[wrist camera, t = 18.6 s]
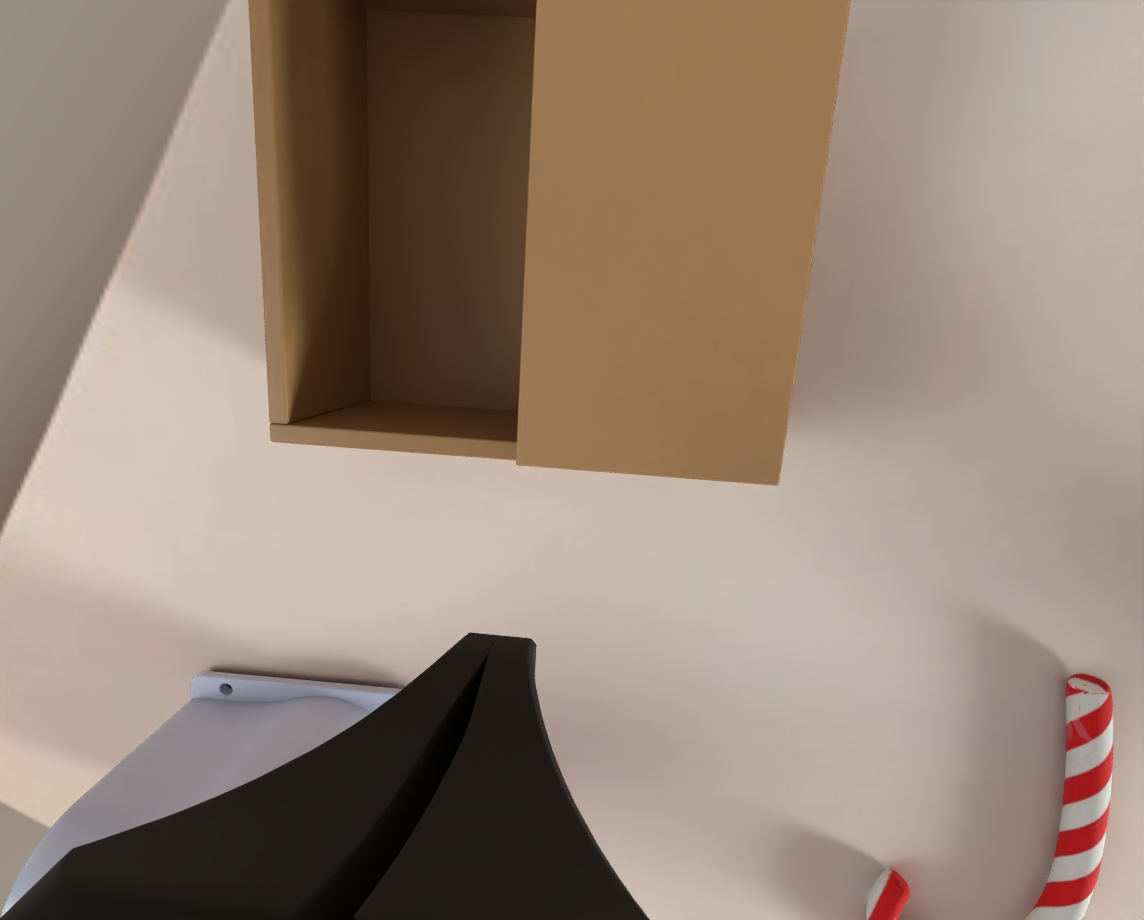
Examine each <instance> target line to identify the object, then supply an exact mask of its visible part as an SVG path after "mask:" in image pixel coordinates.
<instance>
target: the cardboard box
mask: <svg viewBox="0 0 1144 920" xmlns="http://www.w3.org/2000/svg"><path fill="white" fill-rule="evenodd" d="M536 3H537V0H249V20H250V40H251V60H252V80H253V100H254V119H255V139H256V159H257V179H258V199H259V219H260V239H261V259H262V279H263V299H264V318H265V338H266V358H267V378H268V398H269V418H270V422H271V424H270V438H271V441H272V442H280V443H293V444H307V445H320V446H333V447H347V448H360V449H373V450H386V451H400V452H413V453H426V454H440V455H453V456H466V457H479V458H493V459H506V460H516V451H517V429H518V406H519V384H520V362H521V339H522V317H523V294H524V272H525V250H526V227H527V205H528V183H529V160H530V138H531V115H532V93H533V71H534V48H535V26H536Z"/></svg>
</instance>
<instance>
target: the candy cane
mask: <svg viewBox="0 0 1144 920" xmlns="http://www.w3.org/2000/svg"><path fill="white" fill-rule="evenodd" d="M1112 765H1113V703H1112V695H1111V689H1110V687H1109V685H1108V684H1107V683H1106V682H1105V681H1104V680H1102V679H1101V678H1099V677H1097V676H1094V675H1090V674H1075V675H1073V676H1071V677H1070V678H1069V679H1068V681H1067V688H1066V768H1065V783H1064V794H1063V804H1062V812H1061V821H1060V828H1059V834H1058V841H1057V846H1056V851H1055V856H1054V860H1053V864H1052V868H1051V871H1050V875H1049V878H1048V880H1047V883H1046V885H1045V888H1044V890H1043V892H1042V894H1041V896H1040V898H1039V900H1038V901H1037V903H1036V905H1035V906H1034V908H1033V909H1032V911H1031V912H1030V914H1029V915H1028V916H1027V917H1026V918H1025V919H1024V920H1082V918H1083V916H1084V914H1085V912H1086V910H1087V907H1088V905H1089V903H1090V900H1091V897H1092V894H1093V891H1094V888H1095V885H1096V881H1097V878H1098V873H1099V869H1100V864H1101V859H1102V854H1103V848H1104V842H1105V836H1106V829H1107V821H1108V813H1109V804H1110V794H1111V782H1112ZM909 896H910V888H909V886H908V884H907V883H906V881H905V880H904V879H903V878H902V876H900V875H899V874H898V873H897V872H896V871H894V870H893V869H889V868H888V869H885V870H884V871H883V872H882V873H881V874H880V876H879V877H878V879H877V880H876V882H875V884H874V886H873V888H872V891H871V894H870V896H869V900H868V903H867V909H866V920H898V918H899V915H900V913H901V911H902V909H903V907H904V905H905V904H906V902H907V900H908V899H909Z"/></svg>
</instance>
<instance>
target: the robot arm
mask: <svg viewBox="0 0 1144 920" xmlns="http://www.w3.org/2000/svg"><path fill="white" fill-rule="evenodd" d="M535 661H536V644H535V643H534V641H533V640H532V639H530V638H520V637H510V636H499V635H489V634H479V633H468V634H467V635H466V636H465V637H463V638H462V639H461V640H460V641H459V642H457V643H456V644H455V645H454V646H453V647H452V648H451V649H450V650H448V651H447V652H446V653H445V654H444V655H443V656H442V657H440V658H439V659H438V660H437V661H436V662H435V663H434V664H432V665H431V666H430V667H429V668H428V669H427V670H425V671H424V672H423V673H422V674H420V675H419V676H418V677H417V678H416V679H414V680H413V681H412V682H411V683H410V684H408V685H407V686H406V687H405V688H403V689H398V688H387V687H376V686H365V685H354V684H344V683H333V682H322V681H311V680H300V679H289V678H278V677H267V676H256V675H245V674H234V673H223V672H212V671H202V672H200V673H198V674H197V675H196V676H195V677H194V678H193V679H192V680H191V697H192V699H191V700H190V701H189V702H188V703H187V704H185V705H184V706H183V707H182V708H181V709H180V710H179V711H178V712H176V713H175V714H174V715H173V716H172V717H171V718H170V719H169V720H167V721H166V722H165V723H164V724H163V725H162V726H161V727H160V728H158V729H157V730H156V731H155V732H154V733H153V734H152V735H150V736H149V737H148V738H147V739H146V740H145V741H144V742H143V743H141V744H140V745H139V746H138V747H137V748H136V749H135V750H134V751H132V752H131V753H130V754H129V755H128V756H127V757H126V758H125V759H123V760H122V761H121V762H120V763H119V764H118V765H117V766H116V767H114V768H113V769H112V770H111V771H110V772H109V773H108V774H107V775H105V776H104V777H103V778H102V779H101V780H100V781H99V782H97V783H96V784H95V785H94V786H93V787H92V788H91V789H90V790H88V791H87V792H86V793H85V794H84V795H83V796H82V797H81V798H79V799H78V800H77V801H76V802H75V803H74V804H73V805H72V806H71V807H70V808H69V809H68V810H67V811H66V812H65V813H64V814H63V815H62V816H61V817H60V818H59V819H58V820H57V821H56V823H55V824H54V825H53V826H52V827H51V829H50V830H49V831H48V832H47V833H46V835H45V836H44V838H43V839H42V840H41V842H40V843H39V844H38V846H37V847H36V849H35V850H34V852H33V853H32V855H31V856H30V858H29V859H28V861H27V862H26V864H25V866H24V867H23V869H22V871H21V872H20V874H19V876H18V878H17V879H16V882H15V883H14V885H13V887H12V889H11V891H10V894H9V896H8V898H7V901H6V903H5V906H4V908H3V911H2V915H1V918H0V920H650V919H649V918H648V917H647V916H646V914H645V913H644V912H643V910H642V909H641V908H640V906H639V905H638V904H637V902H636V901H635V900H634V898H633V897H632V896H631V894H630V893H629V891H628V890H627V889H626V887H625V886H624V884H623V883H622V881H621V880H620V879H619V877H618V876H617V874H616V873H615V871H614V870H613V868H612V866H611V865H610V863H609V862H608V860H607V859H606V857H605V856H604V854H603V852H602V851H601V849H600V848H599V846H598V844H597V843H596V841H595V839H594V837H593V835H592V833H591V832H590V830H589V828H588V826H587V824H586V823H585V821H584V819H583V817H582V815H581V813H580V812H579V810H578V808H577V806H576V804H575V802H574V800H573V798H572V796H571V794H570V791H569V789H568V787H567V785H566V783H565V781H564V778H563V776H562V773H561V771H560V768H559V766H558V764H557V761H556V758H555V756H554V753H553V750H552V747H551V744H550V741H549V738H548V735H547V731H546V728H545V725H544V721H543V717H542V714H541V710H540V705H539V700H538V695H537V690H536V684H535ZM226 684H229V685H230V686H231V687H232V689H230V688H229V687H228V686H227V685H226Z"/></svg>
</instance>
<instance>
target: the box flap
mask: <svg viewBox="0 0 1144 920" xmlns="http://www.w3.org/2000/svg"><path fill="white" fill-rule="evenodd" d="M850 1H851V0H537V3H536V26H535V48H534V71H533V93H532V115H531V138H530V160H529V183H528V205H527V227H526V250H525V272H524V294H523V317H522V339H521V362H520V384H519V406H518V429H517V451H516V465H519V466H532V467H545V468H558V469H571V470H584V471H597V472H610V473H622V474H635V475H648V476H661V477H674V478H687V479H700V480H712V481H725V482H738V483H751V484H764V485H779V481H780V474H781V467H782V461H783V454H784V447H785V440H786V434H787V427H788V420H789V413H790V406H791V400H792V393H793V386H794V379H795V373H796V366H797V359H798V352H799V346H800V339H801V332H802V325H803V319H804V312H805V305H806V298H807V292H808V285H809V278H810V271H811V265H812V258H813V251H814V244H815V238H816V231H817V224H818V217H819V211H820V204H821V197H822V190H823V184H824V177H825V170H826V163H827V157H828V150H829V143H830V136H831V130H832V123H833V116H834V109H835V103H836V96H837V89H838V82H839V76H840V69H841V62H842V55H843V49H844V42H845V35H846V28H847V22H848V15H849V8H850Z"/></svg>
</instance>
